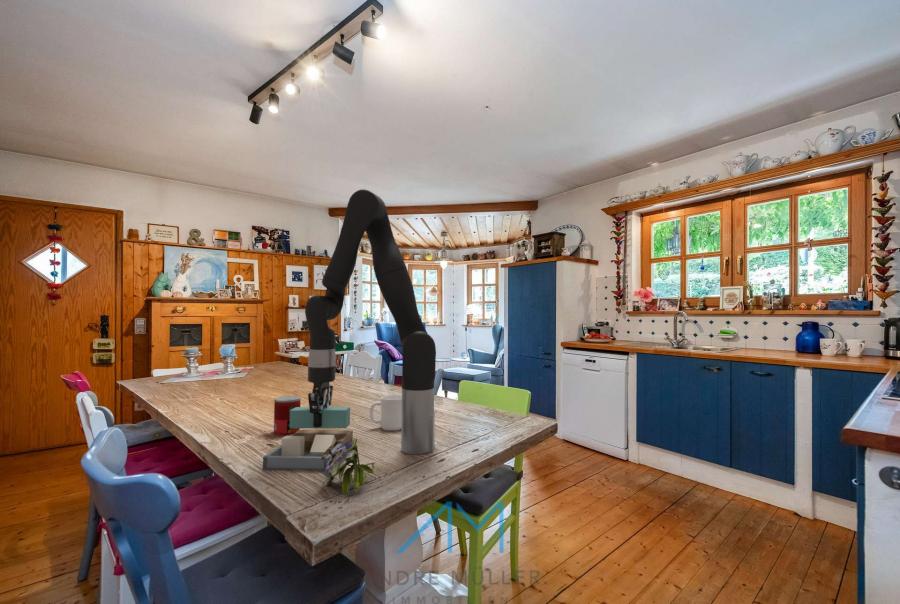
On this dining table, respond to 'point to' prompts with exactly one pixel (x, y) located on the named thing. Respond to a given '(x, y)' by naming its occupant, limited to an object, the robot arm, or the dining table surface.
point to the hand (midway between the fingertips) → (320, 424)
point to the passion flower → (339, 463)
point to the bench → (340, 435)
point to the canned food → (284, 414)
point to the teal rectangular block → (330, 417)
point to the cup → (389, 412)
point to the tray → (295, 461)
